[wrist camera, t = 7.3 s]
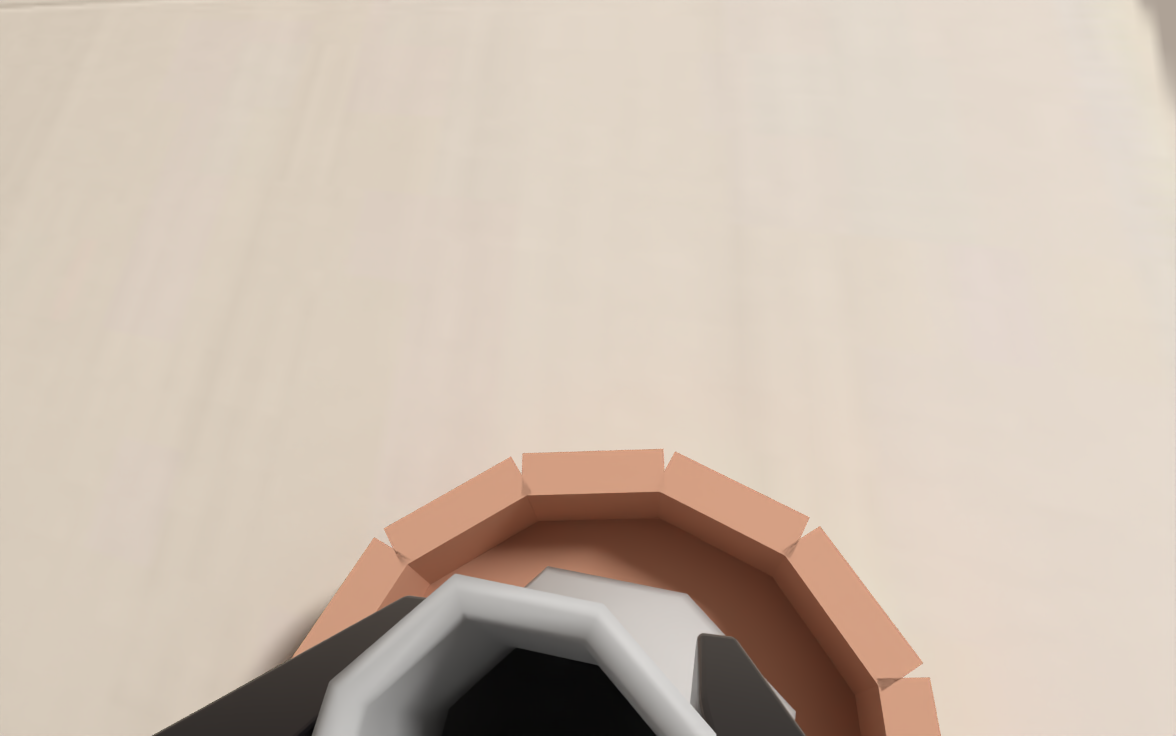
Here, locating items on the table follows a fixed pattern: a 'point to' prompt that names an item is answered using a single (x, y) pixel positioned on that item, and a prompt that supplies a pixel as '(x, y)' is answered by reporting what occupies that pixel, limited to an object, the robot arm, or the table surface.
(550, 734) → the flask
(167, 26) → the table surface
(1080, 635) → the table surface
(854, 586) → the bowl
